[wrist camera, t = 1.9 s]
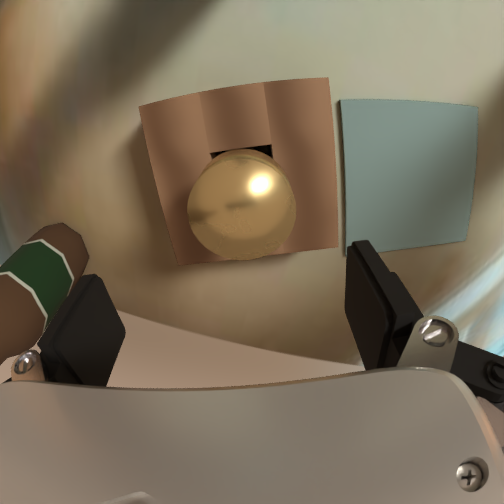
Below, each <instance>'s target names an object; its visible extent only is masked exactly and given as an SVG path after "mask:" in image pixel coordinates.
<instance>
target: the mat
mask: <svg viewBox="0 0 504 504" xmlns="http://www.w3.org/2000/svg"><path fill="white" fill-rule="evenodd" d="M339 101H340V112H341V124H342V138H343V155H344V178H345V255H346V256H347V247H348V246H351V244H352V242H353V241H360V240H369V242H370V243H371V245H372V246H373V247H374V249H375V250H376V252H377V253H378V252H385V251H393V250H401V249H408V248H416V247H423V246H430V245H438V244H445V243H452V242H459V241H466V236H467V230H468V225H469V219H470V213H471V206H472V199H473V191H474V182H475V172H476V160H477V141H478V107H474V106H466V105H458V104H449V103H439V102H426V101H411V100H382V99H353V100H339Z"/></svg>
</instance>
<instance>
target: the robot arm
mask: <svg viewBox="0 0 504 504" xmlns="http://www.w3.org/2000/svg"><path fill="white" fill-rule="evenodd" d="M345 313H346V316H347V319H348V321H349V324H350V327H351V330H352V332H353V335H354V338H355V341H356V344H357V347H358V349H359V352H360V355H361V358H362V361H363V364H364V367H365V370H366V371H360V372H352V373H346V374H340V375H333V376H326V377H319V378H311V379H303V380H295V381H287V382H279V383H269V384H258V385H246V386H231V387H213V388H178V389H177V388H171V389H162V388H160V389H158V388H156V389H154V388H122V387H121V388H120V387H106V385H107V383H108V380H109V377H110V374H111V371H112V369H113V366H114V363H115V361H116V358H117V356H118V353H119V350H120V348H121V345H122V343H123V340H124V338H125V333H126V332H125V327H124V325H123V323H122V321H121V319H120V317H119V315H118V313H117V311H116V309H115V307H114V305H113V303H112V300H111V298H110V296H109V294H108V292H107V289H106V287H105V285H104V283H103V280H102V279H101V278H100V277H98V276H97V275H96V274H90V275H83V276H82V277H81V278H80V279H79V281H78V282H77V284H76V285H75V286H74V288H73V289H72V291H71V292H70V294H69V295H68V296H67V298H66V299H65V301H64V302H63V304H62V305H61V307H60V308H59V310H58V311H57V313H56V314H55V316H54V317H53V319H52V321H51V322H50V324H49V325H48V327H47V328H46V330H45V332H44V333H43V335H42V337H41V338H40V340H39V342H38V343H37V345H38V346H39V348H40V349H41V353H40V354H39V353H38V352H37V351H36V350H27V351H25V352H23V353H21V354H20V355H19V356H18V357H17V358H16V359H15V360H14V362H13V364H12V367H11V376H12V377H11V378H9V379H8V380H6V381H5V382H3V383H2V384H0V504H504V357H501V356H498V355H496V354H493V353H490V352H488V351H485V350H482V349H480V348H477V347H474V346H472V345H469V344H466V343H464V342H461V341H458V339H459V333H458V330H457V328H456V326H455V325H454V324H453V323H452V322H451V321H449V320H448V319H446V318H443V317H440V316H427V317H424V316H423V314H422V313H421V311H420V310H419V308H418V306H417V305H416V303H415V302H414V300H413V298H412V297H411V295H410V294H409V292H408V291H407V289H406V288H405V286H404V285H403V283H402V282H401V280H400V279H399V277H398V276H397V274H396V273H395V272H390V271H389V269H388V268H387V266H386V265H385V263H384V262H383V261H382V259H381V258H380V256H379V255H378V253H377V252H376V250H375V249H374V247H373V246H372V245H371V243H370V242H369V240H360V241H353V242H352V244H351V246H348V247H347V259H346V288H345Z"/></svg>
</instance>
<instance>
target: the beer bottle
mask: <svg viewBox="0 0 504 504" xmlns="http://www.w3.org/2000/svg"><path fill="white" fill-rule="evenodd" d="M88 259H89V255H88V252H87V250H86V247H85V245H84V242H83V240H82V237H81V235H80V234H78V233H77V232H75V231H74V230H72V229H71V228H69V227H68V226H67V225H65V224H64V223H58V224H54V225H50V226H46V227H43V228H42V229H41V230H39V231H38V232H37V233H35V234H34V235H33V236H32V237H31V238H30V239H29V240H28V241H27V242H25V243H24V244H23V245H22V246H21V247H20V248H19V249H18V250H17V251H16V252H15V253H14V254H13V255H12V256H11V257H10V258H9V259H8V260H7V261H6V262H5V263H4V264H3V265H2V266H1V267H0V365H1V364H2V363H3V362H4V361H5V360H6V359H7V358H9V357H12V356H16V355H20V354H21V353H23V352H25V351H27V350H29V349H30V348H32V347H33V346H34V345H35V344H36V342H37V341H38V340H39V338H40V337H41V336H42V334H43V333H44V331H45V329H46V328H47V326H48V325H49V323H50V322H51V320H52V319H53V317H54V316H55V314H56V313H57V311H58V310H59V308H60V307H61V305H62V304H63V302H64V301H65V299H66V298H67V296H68V295H69V294H70V292H71V291H72V289H73V288H74V286H75V285H76V284H77V282H78V281H79V279H80V277H81V276H82V274H83V272H84V269H85V267H86V264H87V262H88Z"/></svg>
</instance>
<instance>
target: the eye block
mask: <svg viewBox="0 0 504 504" xmlns="http://www.w3.org/2000/svg"><path fill="white" fill-rule="evenodd" d="M139 111H140V116H141V121H142V126H143V131H144V135H145V140H146V144H147V149H148V153H149V158H150V162H151V166H152V170H153V175H154V179H155V183H156V187H157V191H158V195H159V198H160V202H161V206H162V210H163V214H164V217H165V221H166V225H167V228H168V232H169V235H170V239H171V242H172V246H173V249H174V253H175V256H176V259H177V263H178V266H179V265H188V264H197V263H206V262H215V261H224V260H232V259H228V258H225V257H222V256H219V255H217V254H215V253H213V252H212V251H210V250H209V249H207V248H206V247H205V246H204V245H203V244H202V243H201V242H200V241H199V240H198V239H197V238H196V236H195V234H194V233H193V231H192V229H191V227H190V224H189V220H188V215H187V205H188V199H189V195H190V193H191V190H192V188H193V186H194V185H195V183H196V181H197V179H198V178H199V176H200V174H201V173H202V171H203V169H204V168H205V167H206V165H207V164H208V163H209V162H210V161H211V160H212V159H214V158H215V157H217V156H218V155H219V151H225V150H231V149H238V148H246V147H253V146H261V145H269V144H270V150H271V158H272V159H274V160H275V161H276V162H277V163H278V164H279V165H280V166H281V167H282V169H283V170H284V172H285V174H286V176H287V178H288V181H289V184H290V186H291V189H292V192H293V195H294V198H295V203H296V219H295V223H294V226H293V229H292V231H291V233H290V235H289V236H288V238H287V239H286V240H285V242H284V243H283V244H282V245H281V246H280V247H279V248H277V249H276V250H275V251H273V252H271V253H270V254H268V255H275V254H284V253H293V252H301V251H310V250H318V249H326V248H335V247H338V207H337V178H336V159H335V143H334V130H333V118H332V107H331V97H330V88H329V79H328V78H307V79H293V80H281V81H271V82H262V83H253V84H246V85H239V86H232V87H226V88H220V89H214V90H208V91H203V92H198V93H193V94H188V95H183V96H179V97H174V98H170V99H166V100H162V101H158V102H154V103H150V104H146V105H143V106H139ZM265 256H267V255H265Z"/></svg>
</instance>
